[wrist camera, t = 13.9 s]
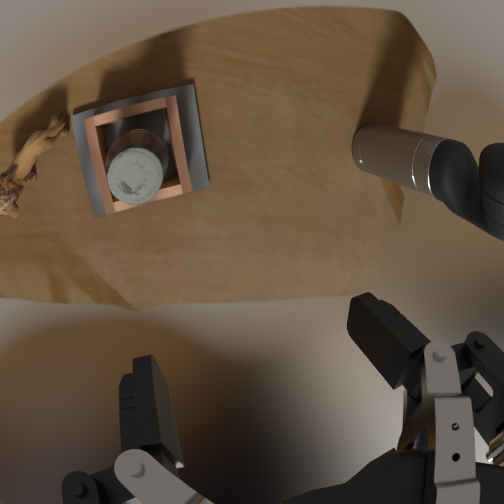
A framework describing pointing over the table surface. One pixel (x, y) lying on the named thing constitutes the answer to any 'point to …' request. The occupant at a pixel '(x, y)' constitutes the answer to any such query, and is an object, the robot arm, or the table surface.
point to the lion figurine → (25, 167)
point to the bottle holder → (154, 120)
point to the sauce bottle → (136, 166)
